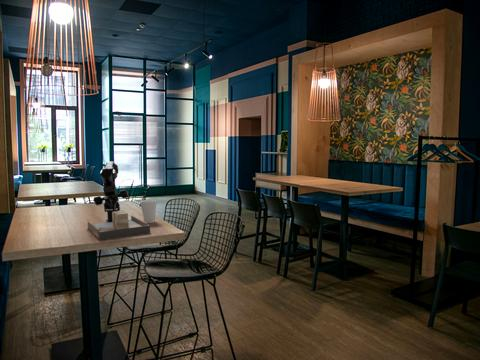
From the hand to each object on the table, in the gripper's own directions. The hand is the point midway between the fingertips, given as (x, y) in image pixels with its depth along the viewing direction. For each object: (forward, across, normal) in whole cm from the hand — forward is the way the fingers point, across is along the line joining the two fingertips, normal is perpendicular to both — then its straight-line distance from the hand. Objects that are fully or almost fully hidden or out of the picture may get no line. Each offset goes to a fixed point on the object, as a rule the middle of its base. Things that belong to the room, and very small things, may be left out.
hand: (113, 210), depth 224 cm
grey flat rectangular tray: (+12, 0, +1) cm, 13 cm away
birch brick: (+14, +2, -5) cm, 15 cm away
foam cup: (+5, +17, +18) cm, 25 cm away
